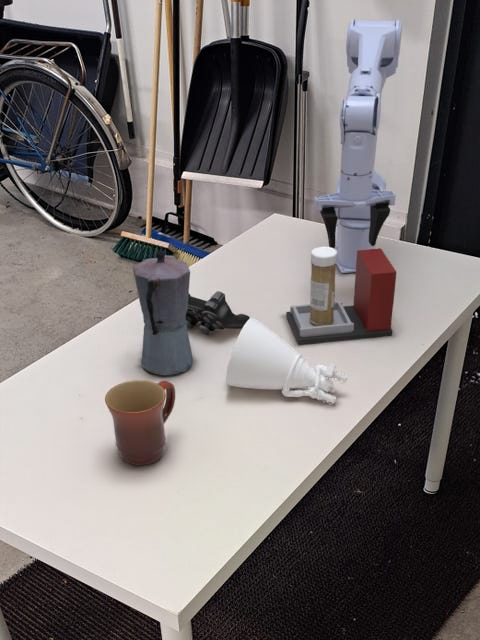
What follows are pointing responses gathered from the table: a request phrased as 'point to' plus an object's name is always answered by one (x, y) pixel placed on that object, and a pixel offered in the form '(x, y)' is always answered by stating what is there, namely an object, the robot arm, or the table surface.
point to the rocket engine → (276, 366)
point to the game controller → (213, 314)
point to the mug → (140, 418)
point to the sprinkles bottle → (322, 286)
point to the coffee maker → (354, 305)
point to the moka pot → (164, 313)
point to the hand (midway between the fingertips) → (351, 245)
